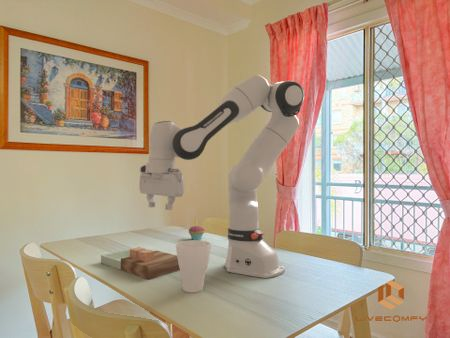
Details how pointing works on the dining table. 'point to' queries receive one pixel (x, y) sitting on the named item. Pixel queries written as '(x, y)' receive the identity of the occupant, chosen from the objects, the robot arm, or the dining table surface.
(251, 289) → the dining table surface
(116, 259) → the tray
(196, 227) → the cupcake
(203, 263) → the cup
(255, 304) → the dining table surface
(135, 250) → the tile
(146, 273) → the board
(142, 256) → the tile
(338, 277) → the dining table surface
